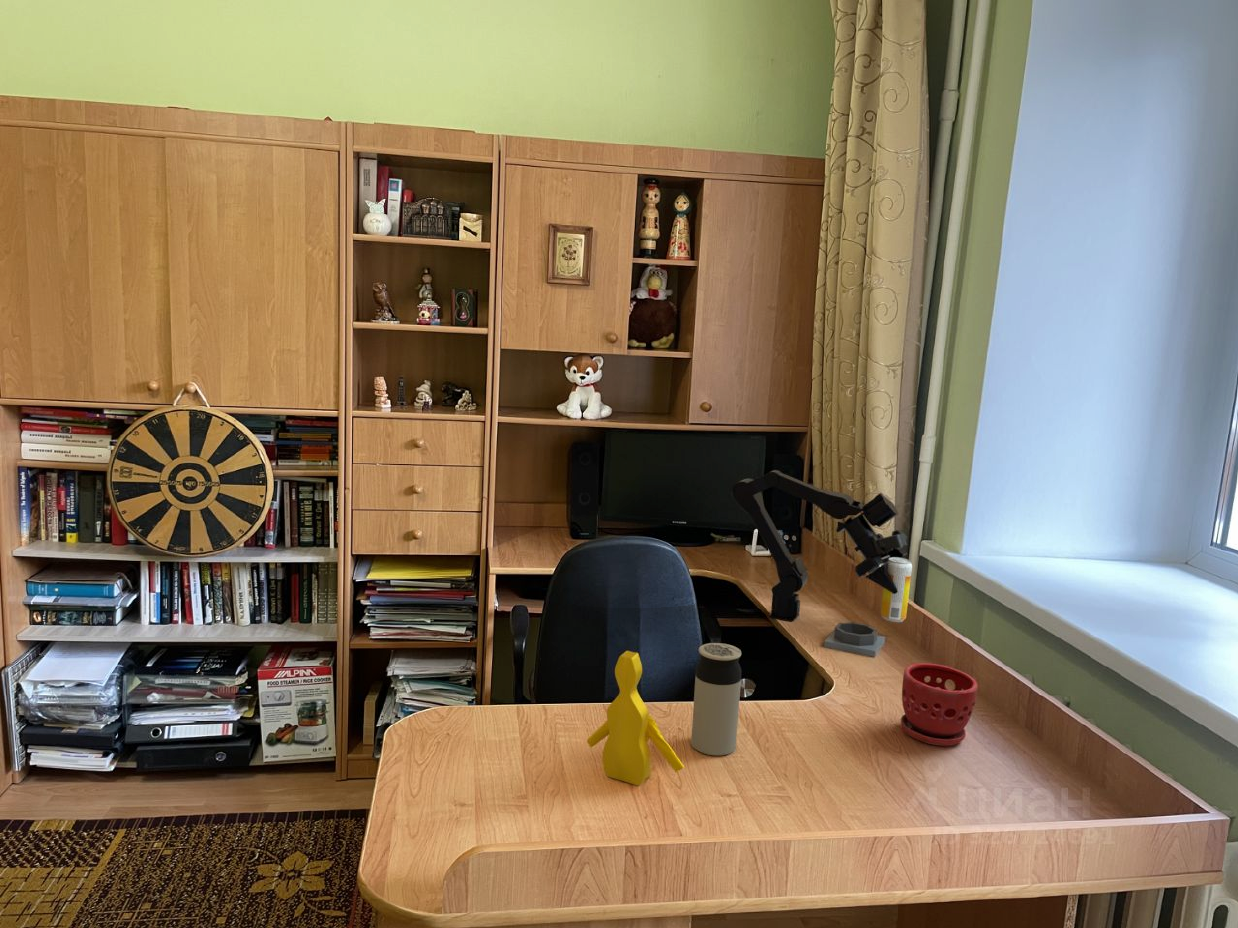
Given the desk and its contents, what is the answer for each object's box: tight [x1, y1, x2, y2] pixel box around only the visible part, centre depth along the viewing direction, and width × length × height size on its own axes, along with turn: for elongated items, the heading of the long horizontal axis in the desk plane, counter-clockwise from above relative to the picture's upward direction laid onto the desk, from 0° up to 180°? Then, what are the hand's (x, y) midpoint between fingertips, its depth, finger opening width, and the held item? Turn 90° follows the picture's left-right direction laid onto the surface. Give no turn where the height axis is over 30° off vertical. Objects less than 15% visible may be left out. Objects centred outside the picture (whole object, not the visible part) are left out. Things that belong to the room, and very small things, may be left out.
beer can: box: [880, 557, 913, 623], centre depth 216 cm, size 6×6×15 cm
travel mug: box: [690, 642, 742, 757], centre depth 155 cm, size 8×8×18 cm
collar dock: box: [823, 621, 886, 658], centre depth 213 cm, size 12×12×4 cm
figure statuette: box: [586, 650, 685, 787], centre depth 143 cm, size 18×8×22 cm, turn 63°
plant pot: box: [900, 662, 979, 747], centre depth 165 cm, size 13×13×12 cm
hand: (901, 590), depth 215 cm, fingers closed on beer can, 6 cm apart
